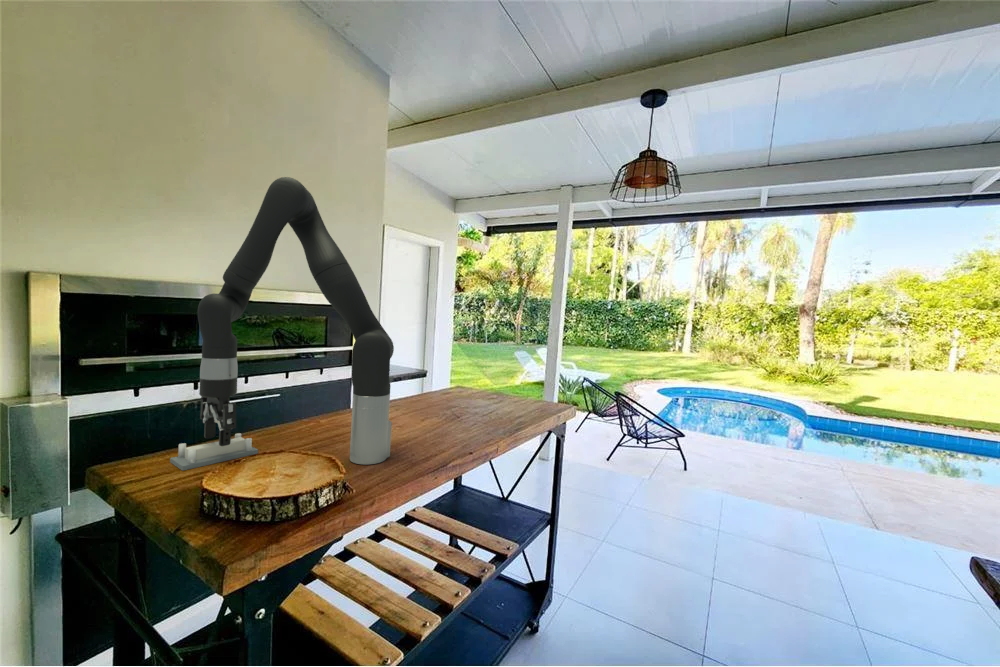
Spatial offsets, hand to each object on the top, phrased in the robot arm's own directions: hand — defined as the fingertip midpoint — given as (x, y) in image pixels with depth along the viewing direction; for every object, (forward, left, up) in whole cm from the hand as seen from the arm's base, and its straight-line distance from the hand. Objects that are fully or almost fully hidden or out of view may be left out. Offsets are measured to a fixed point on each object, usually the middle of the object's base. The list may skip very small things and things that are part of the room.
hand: (216, 441), depth 99 cm
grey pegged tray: (0, 0, -4) cm, 4 cm away
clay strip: (0, 0, -3) cm, 3 cm away
